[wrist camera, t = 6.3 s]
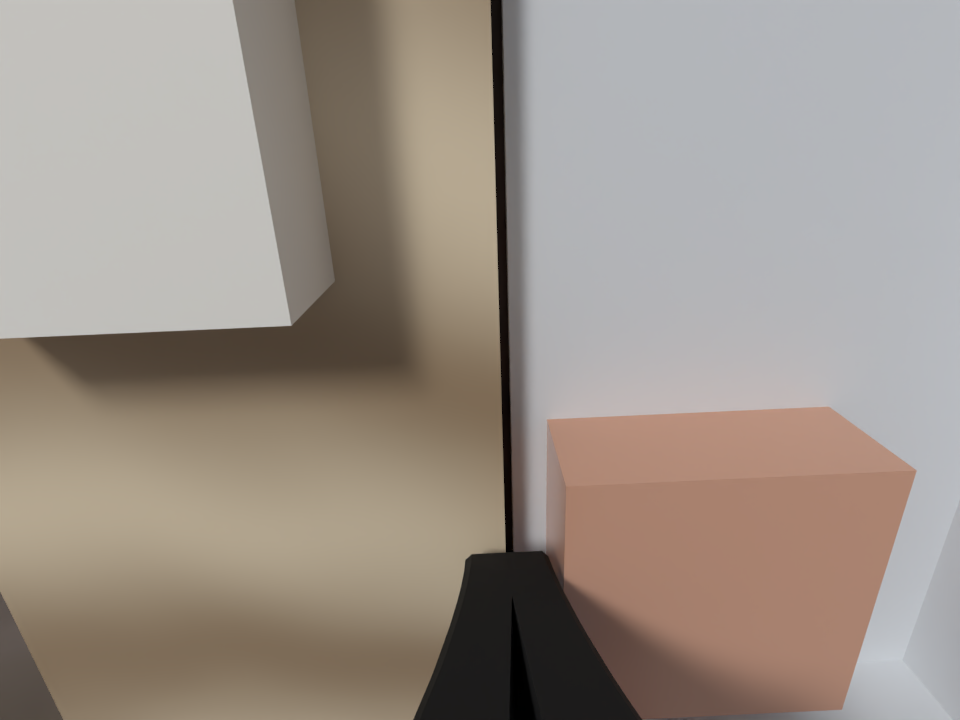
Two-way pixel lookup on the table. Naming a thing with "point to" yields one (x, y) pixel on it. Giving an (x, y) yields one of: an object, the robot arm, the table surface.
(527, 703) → the robot arm
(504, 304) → the table surface
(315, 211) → the cream tile
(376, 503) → the oak board
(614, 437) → the terracotta tile
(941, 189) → the grey tray
